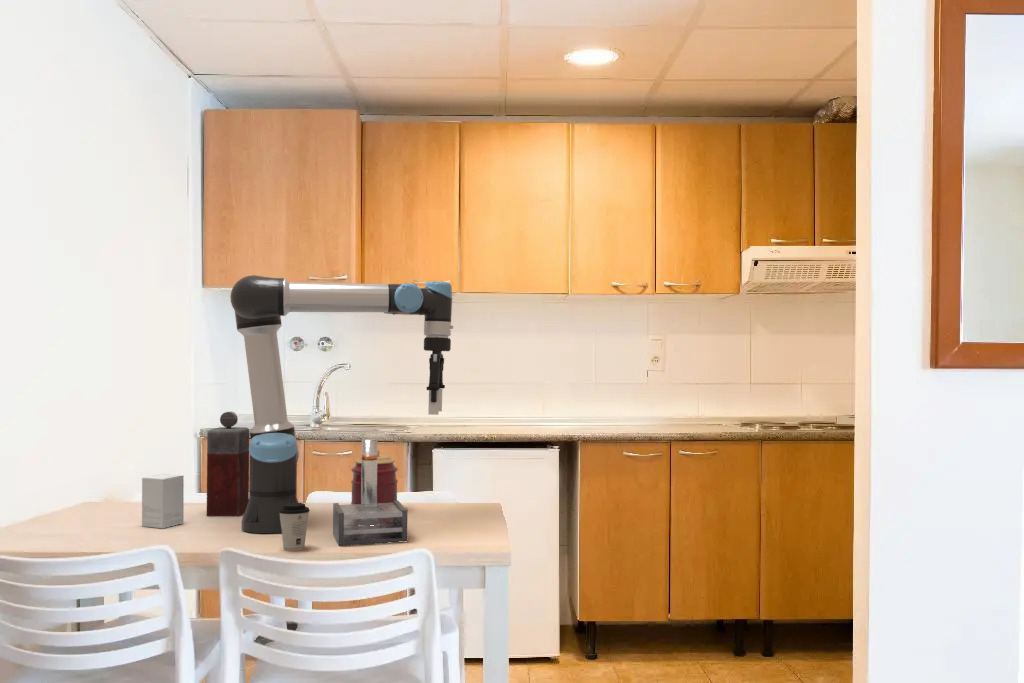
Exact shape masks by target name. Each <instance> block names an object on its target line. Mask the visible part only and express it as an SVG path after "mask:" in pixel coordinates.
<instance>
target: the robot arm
mask: <svg viewBox="0 0 1024 683" xmlns="http://www.w3.org/2000/svg"><path fill="white" fill-rule="evenodd" d="M452 288H453V287H452V284H451V283H449V282H447V281H426V283H425V286H424V287H422V288H420V287H419V286H418V285H416V284H414V283H410V282H405V283H362V282H361V283H359V282H357V283H354V282H353V283H352V282H351V283H348V282H344V283H343V282H290V281H289V279H287V278H285V277H284V278H283V277H281V278H280V277H278V278H277V277H269V276H262V275H261V276H260V275H255V274H254V275H253V274H252V275H246V276H243V277H242V278H240V279H238V281H236V282H235V283H234V285H233V287H232V289H231V291H230V303H231V307H232V308H233V310H234V315H235V316H234V317H235V323H236V330H237V332H239V333H240V335H242V336H243V339H244V340H243V341H244V350H245V356H246V365H247V372H248V373H247V374H248V380H249V387H250V388H249V389H250V390H249V391H250V395H251V397H250V398H251V404H252V405H251V406H252V414H253V420H254V421H253V423H254V425H253V427H252V428H251V429H250V430H249V439H250V440H249V501H248V504H247V507H246V510H245V513H244V514H243V515H242V520H241V530H242V531H244V532H245V533H253V534H279V533H280V534H282V530H281V521H280V513H279V510H280V508H283V506H284V504H288V503H300V502H299V500H298V497H297V496H298V494H297V490H298V489H297V486H298V485H297V484H298V483H297V482H298V480H297V479H298V460H299V456H300V455H299V445H298V440H297V437H296V431H295V430H296V429H295V425H294V424H293V423H291V421H289V419H288V413H287V406H286V405H287V404H286V398H285V396H286V395H285V388H284V382H283V380H284V379H283V373H282V372H283V371H282V365H281V363H282V362H281V358H280V357H281V356H280V348H279V341H278V339H279V338H278V331H279V330H280V328H281V327H282V326H283V324H282V317H286V316H287V315H288V314H289V313H384V314H386V315H387V314H388V315H393V316H395V315H402V316H403V315H404V316H406V315H409V316H411V315H412V316H415V315H417V316H424V322H423V336H425V337H424V338H423V350H424V351H426V352H432V353H430V357H428V358H429V359H428V360H429V362H428V363H429V376H428V377H429V379H428V380H429V381H428V386H426V391H428V410H427V411H428V414H427V415H435V416H436V415H437V416H438V415H439V413H440V412H443V389H445V388H446V385H445V384H444V382H443V381H444V378H443V372H444V367H445V366H444V364H445V357H444V354H443V352H450V351H451V349H452V348H451V345H452V344H451V343H452V342H451V341H452V340H451V338H450V337H451V335H452V331H451V330H453V329H454V326H453V325H452V311H453V309H452V308H453V291H452V290H453V289H452Z"/></svg>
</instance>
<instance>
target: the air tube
mask: <svg viewBox="0 0 1024 683" xmlns="http://www.w3.org/2000/svg"><path fill="white" fill-rule="evenodd" d="M377 449H378V439H376V438H363V439H361V455H360V456H361V460H362V477H361V504H373V503H377ZM371 511H377V510H371ZM364 526H370V525H364Z"/></svg>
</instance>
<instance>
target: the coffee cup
mask: <svg viewBox="0 0 1024 683" xmlns="http://www.w3.org/2000/svg"><path fill="white" fill-rule="evenodd" d="M310 511H311V510H310V508H309V507H308V506H306V504H305V503H303V502H299V503H288V504H284V506H283V508H280V510H279V513H280V521H281V530H282V533H281V538H282V546H283V550H284V551H288V552H297V551H301V550H304V549H305V543H306V538H307V537H306V536H307V528H308V522H309V513H310Z"/></svg>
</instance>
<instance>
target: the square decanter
mask: <svg viewBox="0 0 1024 683" xmlns="http://www.w3.org/2000/svg"><path fill="white" fill-rule="evenodd" d="M219 421H220V424H221V425H222V426H219V427H214V428H211V429H209V430H208V431H207V434H206V436H207V437H206V438H207V439H206V441H207V442H206V517H241V516H243V515H244V513H245V510H246V507H247V504H248V501H249V477H250V453H249V447H250V428H248V427H243V426H242V427H241V426H239V427H237V426H236V425H237V422H238V415H237V414H236V412H233V411H225V412H223V413H222V414H221V415H220V417H219Z"/></svg>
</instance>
